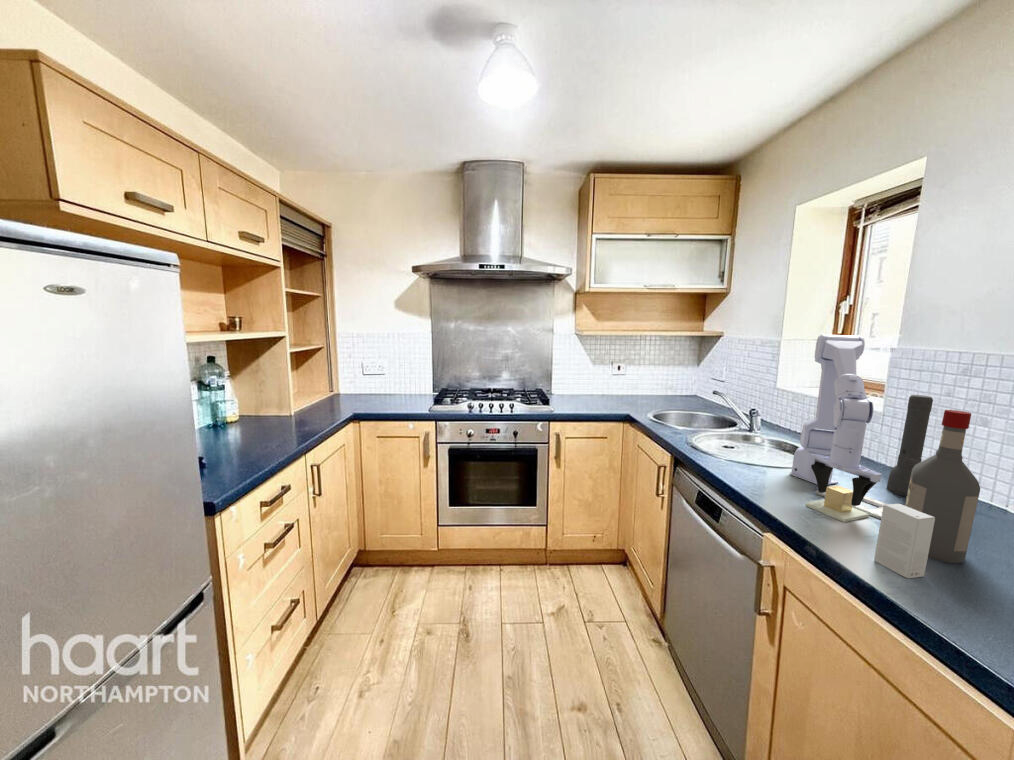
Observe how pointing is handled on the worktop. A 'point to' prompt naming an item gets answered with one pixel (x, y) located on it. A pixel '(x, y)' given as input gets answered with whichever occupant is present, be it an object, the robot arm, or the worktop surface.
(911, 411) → the flashlight
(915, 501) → the liquor
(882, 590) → the worktop surface
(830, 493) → the light wood cube
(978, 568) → the worktop surface
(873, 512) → the rail plate
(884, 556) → the skincare box
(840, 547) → the worktop surface
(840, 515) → the tile
